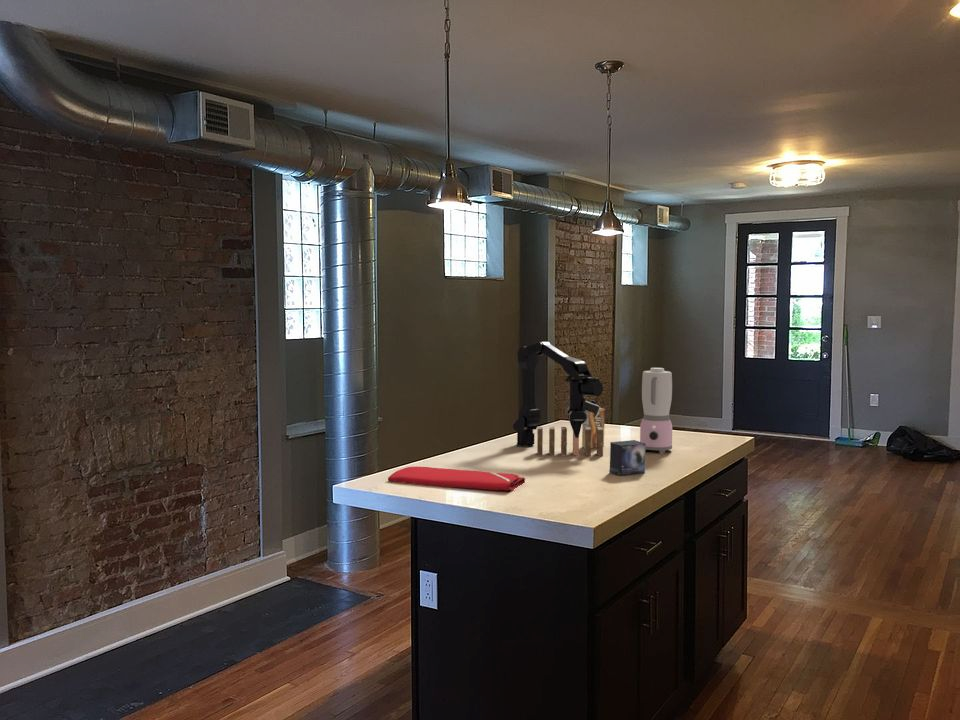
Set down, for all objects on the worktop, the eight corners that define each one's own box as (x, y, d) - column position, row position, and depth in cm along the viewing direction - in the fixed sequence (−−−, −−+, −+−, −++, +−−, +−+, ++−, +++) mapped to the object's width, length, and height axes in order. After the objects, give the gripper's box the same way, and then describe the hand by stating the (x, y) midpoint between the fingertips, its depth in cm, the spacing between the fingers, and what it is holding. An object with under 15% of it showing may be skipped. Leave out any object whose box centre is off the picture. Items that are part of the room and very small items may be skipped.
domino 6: (598, 456, 294) (598, 429, 294) (596, 453, 300) (596, 427, 299) (602, 456, 294) (603, 429, 293) (601, 453, 300) (601, 427, 299)
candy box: (596, 445, 317) (597, 407, 316) (604, 446, 314) (605, 408, 313) (581, 447, 312) (581, 409, 311) (589, 449, 309) (589, 410, 307)
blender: (643, 446, 313) (644, 366, 311) (674, 449, 309) (675, 367, 307) (635, 453, 299) (636, 369, 297) (668, 456, 294) (669, 370, 292)
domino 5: (585, 455, 294) (586, 429, 294) (584, 453, 300) (585, 427, 299) (590, 456, 294) (591, 429, 294) (589, 453, 300) (589, 427, 299)
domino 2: (549, 455, 295) (549, 429, 294) (549, 452, 301) (549, 426, 300) (554, 455, 295) (554, 429, 294) (553, 452, 301) (554, 426, 300)
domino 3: (561, 455, 295) (562, 429, 294) (561, 452, 301) (561, 426, 300) (566, 455, 295) (566, 429, 294) (565, 452, 300) (566, 426, 300)
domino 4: (577, 453, 300) (577, 427, 300) (578, 455, 295) (578, 429, 294) (572, 453, 300) (573, 426, 300) (573, 455, 295) (574, 429, 294)
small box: (620, 476, 260) (621, 445, 259) (608, 472, 265) (609, 441, 265) (646, 473, 264) (646, 442, 264) (633, 469, 270) (634, 439, 269)
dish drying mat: (410, 473, 265) (410, 462, 265) (525, 484, 250) (525, 472, 250) (387, 483, 251) (387, 471, 251) (508, 495, 236) (508, 483, 235)
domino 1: (537, 455, 295) (537, 428, 295) (537, 452, 301) (537, 426, 300) (542, 455, 295) (542, 429, 295) (542, 452, 301) (542, 426, 300)
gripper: (600, 397, 286) (600, 440, 287) (595, 391, 305) (595, 431, 306) (569, 397, 287) (569, 439, 288) (566, 391, 305) (566, 431, 306)
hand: (576, 435), depth 297 cm, fingers open, 9 cm apart
